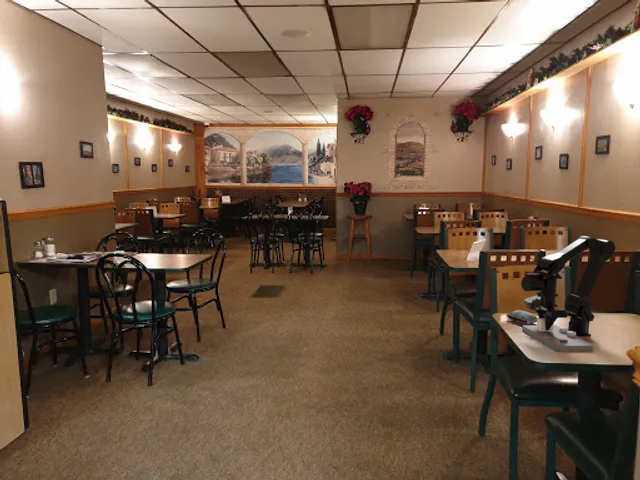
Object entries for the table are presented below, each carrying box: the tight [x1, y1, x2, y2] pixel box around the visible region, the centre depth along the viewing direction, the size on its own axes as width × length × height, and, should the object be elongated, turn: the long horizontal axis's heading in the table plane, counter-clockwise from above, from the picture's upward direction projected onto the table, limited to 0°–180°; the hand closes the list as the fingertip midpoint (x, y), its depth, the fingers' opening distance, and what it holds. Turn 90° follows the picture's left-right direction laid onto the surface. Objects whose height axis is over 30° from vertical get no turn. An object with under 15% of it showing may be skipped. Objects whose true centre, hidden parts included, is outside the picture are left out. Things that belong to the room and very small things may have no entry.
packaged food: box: [505, 309, 538, 325], centre depth 205 cm, size 9×12×5 cm
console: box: [521, 324, 594, 352], centre depth 183 cm, size 24×14×4 cm, turn 5°
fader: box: [536, 317, 555, 331], centre depth 187 cm, size 3×5×5 cm, turn 95°
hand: (544, 328), depth 187 cm, fingers closed on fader, 3 cm apart
